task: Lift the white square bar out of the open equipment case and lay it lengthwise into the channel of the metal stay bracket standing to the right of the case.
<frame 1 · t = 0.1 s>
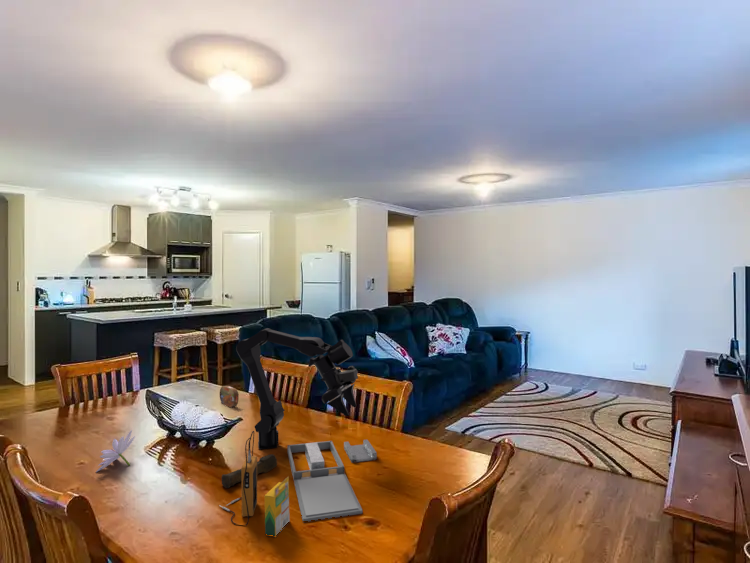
hand: (351, 411, 156), 15 cm above the table, tool tilted 30°, fingers open, 9 cm apart
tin: (229, 405, 213), on the table
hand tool: (250, 477, 140), on the table
white square bar: (314, 464, 150), resting in case
crayon box: (277, 529, 112), on the table
case: (314, 463, 150), on the table
stay bracket: (359, 454, 157), on the table
lavender daisy flower: (115, 465, 148), on the table
multimeter: (235, 511, 120), on the table
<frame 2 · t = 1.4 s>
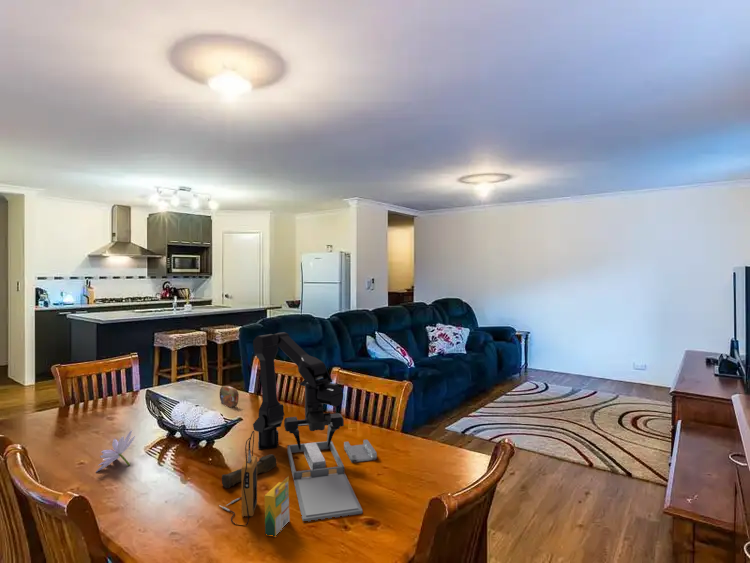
hand: (314, 448, 150), 5 cm above the table, tool pointing down, fingers open, 9 cm apart
nothing on the table moved.
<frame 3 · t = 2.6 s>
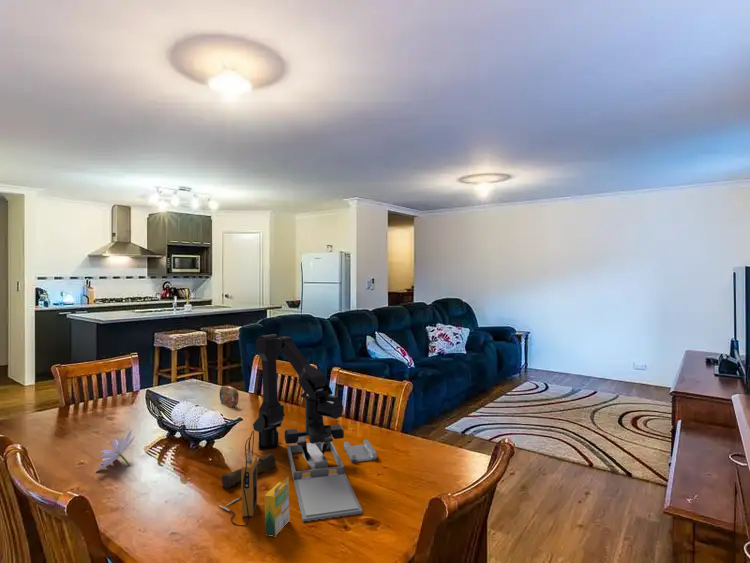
hand: (314, 459, 150), 1 cm above the table, tool pointing down, fingers closed on white square bar, 4 cm apart
white square bar: (314, 463, 150), resting in case, touching gripper
everything else where it was.
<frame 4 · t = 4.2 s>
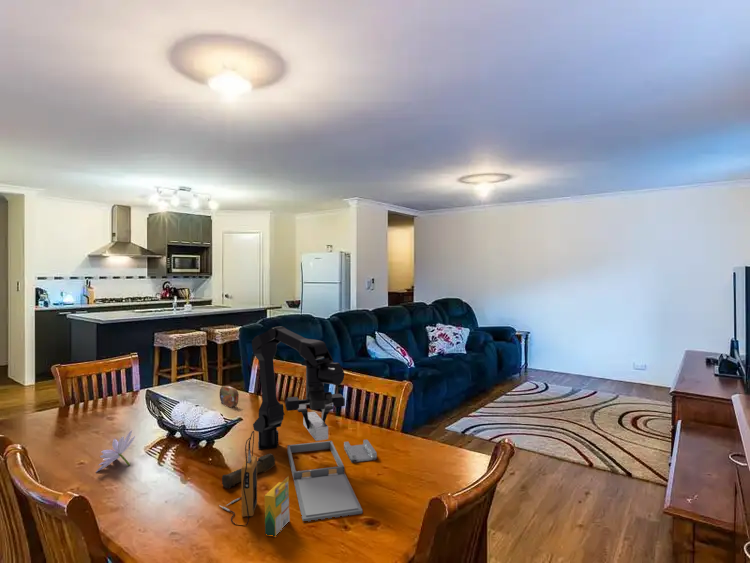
hand: (315, 428, 149), 11 cm above the table, tool pointing down, fingers closed on white square bar, 4 cm apart
white square bar: (315, 431, 149), point 10 cm above the table, touching gripper
everything else where it was.
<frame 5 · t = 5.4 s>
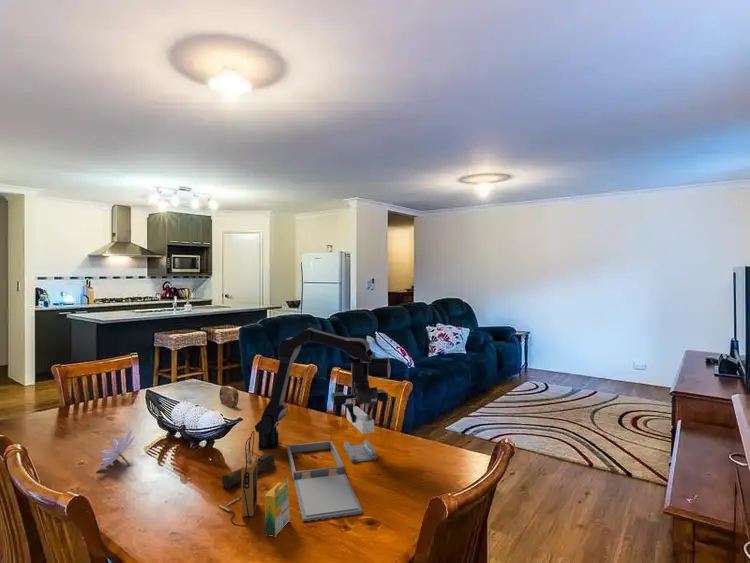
hand: (359, 421, 156), 11 cm above the table, tool pointing down, fingers closed on white square bar, 4 cm apart
white square bar: (359, 425, 156), point 10 cm above the table, touching gripper
everything else where it was.
when the fingers open (3 cm above the table, at t = 7.5 s): white square bar drops 1 cm, resting on stay bracket.
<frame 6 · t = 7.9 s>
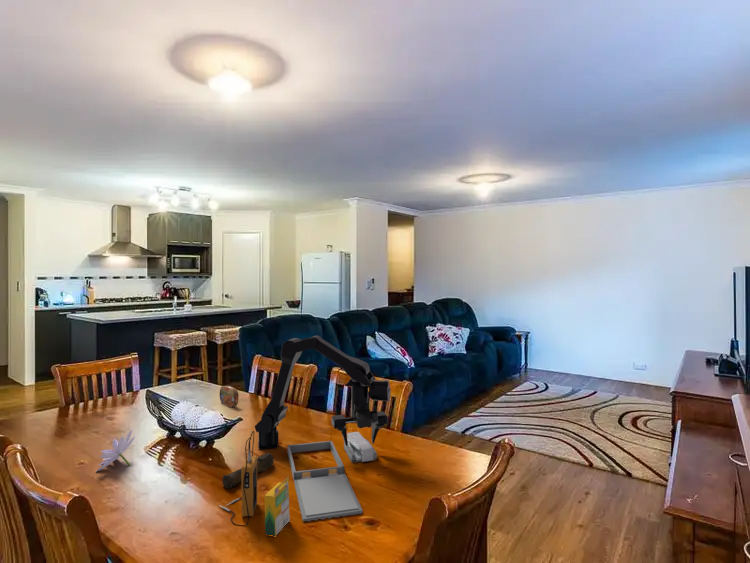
hand: (359, 444, 157), 3 cm above the table, tool pointing down, fingers open, 9 cm apart
white square bar: (359, 451, 157), point 1 cm above the table, touching stay bracket
everything else where it was.
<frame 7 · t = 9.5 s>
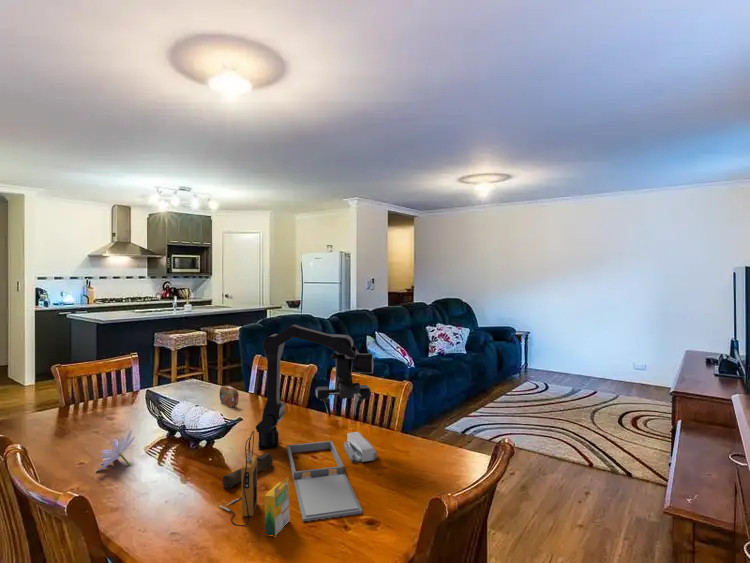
hand: (342, 416, 161), 12 cm above the table, tool pointing down, fingers open, 9 cm apart
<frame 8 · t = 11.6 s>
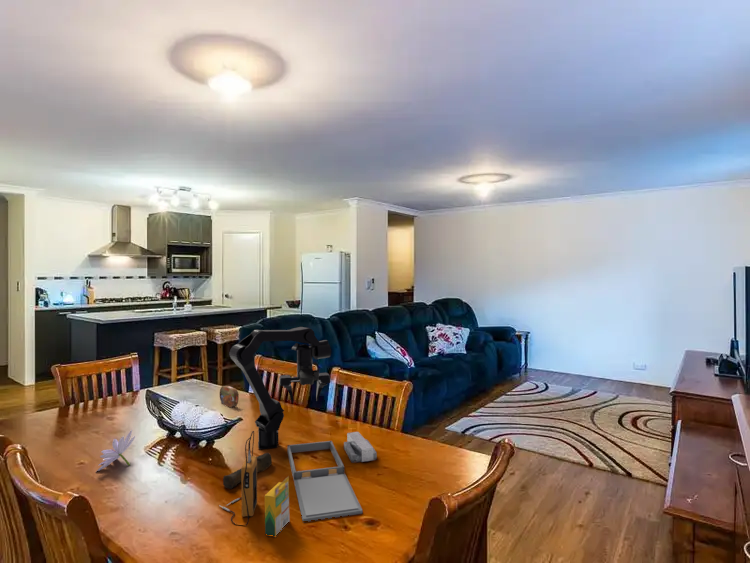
hand: (304, 401, 173), 13 cm above the table, tool pointing down, fingers open, 9 cm apart
at the end: white square bar inside the target area on the stay bracket (0.0 cm from its centre), point 0.8 cm above the stay bracket's base; the gripper is holding nothing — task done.
